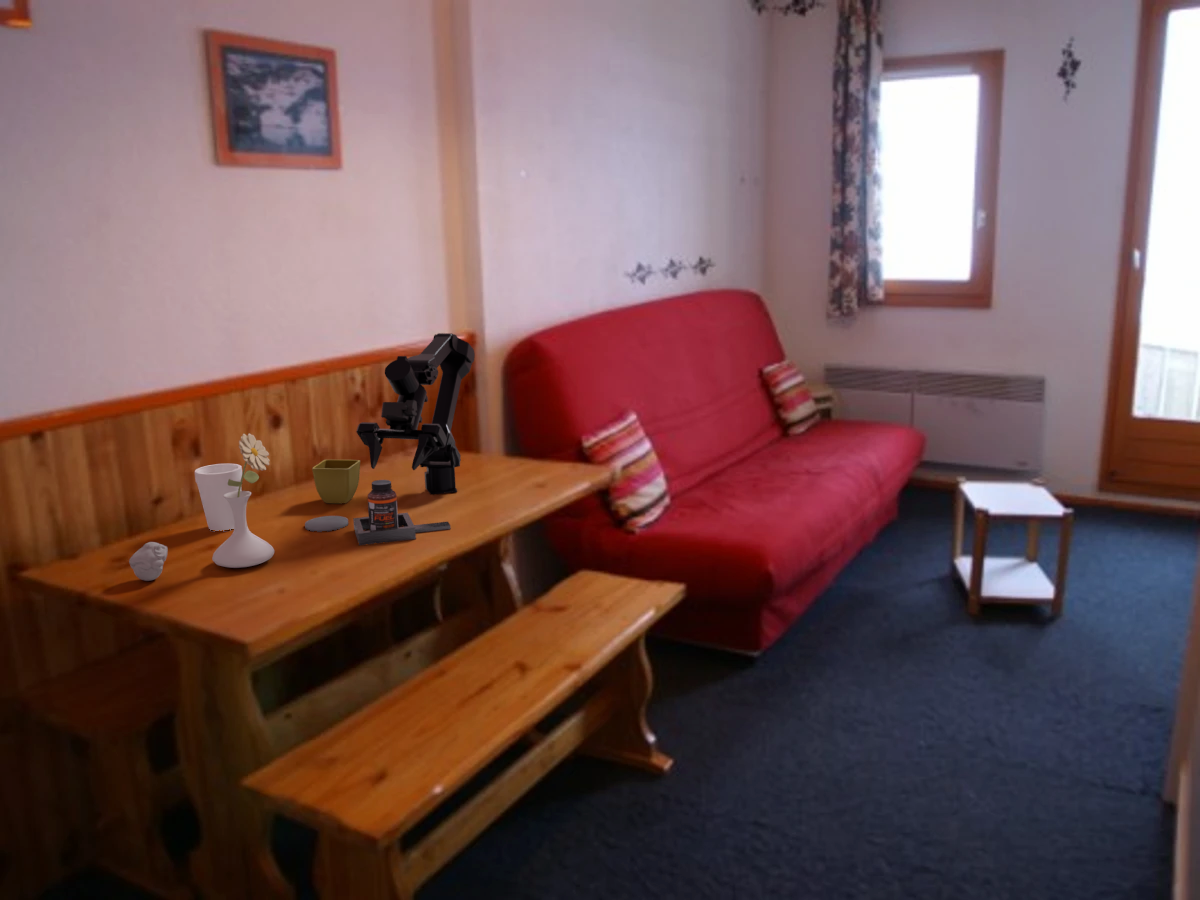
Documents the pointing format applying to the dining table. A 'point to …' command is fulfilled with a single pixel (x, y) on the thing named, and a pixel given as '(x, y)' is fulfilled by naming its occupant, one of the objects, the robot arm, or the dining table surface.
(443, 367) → the robot arm
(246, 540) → the flower in vase
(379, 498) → the supplement bottle
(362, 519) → the square pan with handle
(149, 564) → the lumpy white ball
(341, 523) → the coaster
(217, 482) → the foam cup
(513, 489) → the dining table surface
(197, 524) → the dining table surface
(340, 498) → the flower pot
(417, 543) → the dining table surface
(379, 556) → the dining table surface
